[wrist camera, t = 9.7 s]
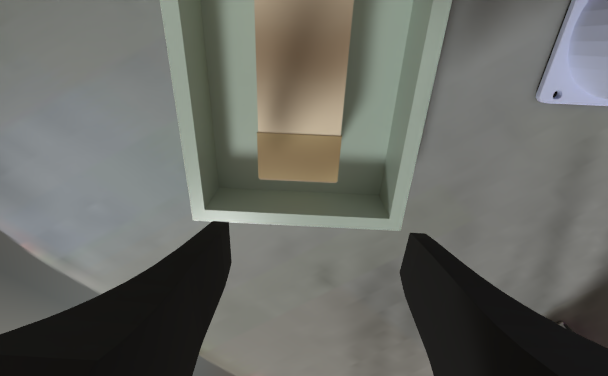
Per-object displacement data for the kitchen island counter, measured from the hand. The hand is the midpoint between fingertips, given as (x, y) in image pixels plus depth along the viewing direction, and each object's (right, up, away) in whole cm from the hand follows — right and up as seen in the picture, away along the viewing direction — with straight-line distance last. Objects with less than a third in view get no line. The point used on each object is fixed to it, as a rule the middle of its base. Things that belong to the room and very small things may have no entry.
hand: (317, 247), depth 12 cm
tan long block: (-1, +10, +4) cm, 11 cm away
